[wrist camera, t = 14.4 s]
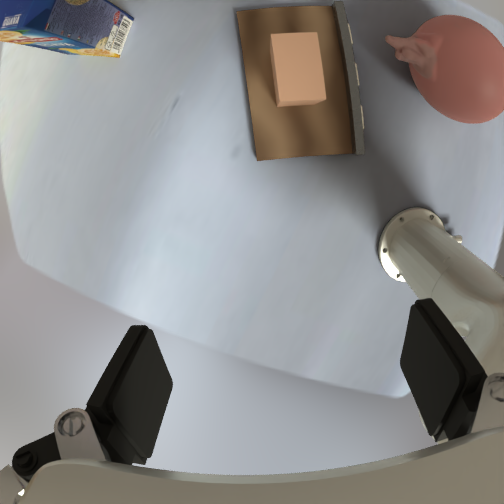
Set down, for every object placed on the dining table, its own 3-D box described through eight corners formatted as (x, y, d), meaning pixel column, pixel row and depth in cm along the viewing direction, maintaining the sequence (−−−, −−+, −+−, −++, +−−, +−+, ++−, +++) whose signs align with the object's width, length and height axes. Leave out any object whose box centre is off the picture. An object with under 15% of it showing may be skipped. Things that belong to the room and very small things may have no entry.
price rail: (340, 10, 31) (345, 1, 28) (360, 152, 39) (367, 154, 36) (329, 9, 31) (334, 1, 28) (349, 152, 39) (356, 154, 36)
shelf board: (329, 9, 31) (331, 6, 30) (349, 152, 39) (352, 153, 38) (237, 15, 32) (236, 11, 31) (257, 159, 41) (257, 161, 39)
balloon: (363, 7, 30) (404, -35, 16) (471, 49, 30) (531, 37, 16) (358, 99, 36) (404, 87, 22) (467, 132, 36) (531, 144, 22)
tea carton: (315, 104, 36) (326, 99, 28) (276, 107, 36) (279, 101, 29) (307, 49, 33) (317, 32, 25) (269, 51, 33) (270, 34, 26)
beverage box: (80, 17, 31) (-10, -15, 11) (134, 18, 32) (50, -34, 12) (67, 54, 34) (-31, 37, 14) (120, 57, 35) (23, 26, 15)
